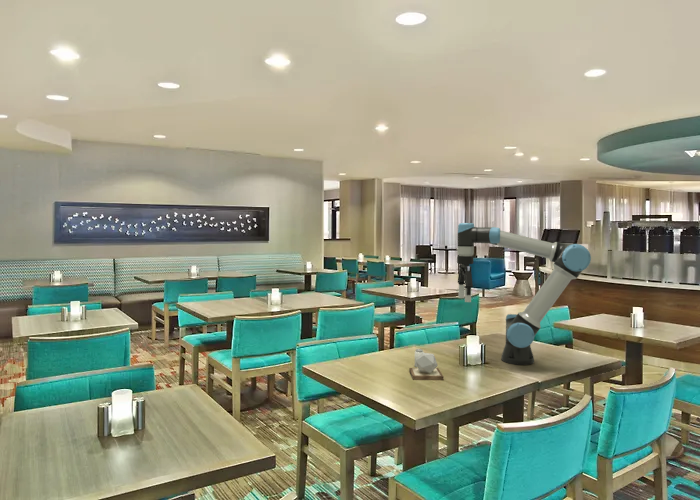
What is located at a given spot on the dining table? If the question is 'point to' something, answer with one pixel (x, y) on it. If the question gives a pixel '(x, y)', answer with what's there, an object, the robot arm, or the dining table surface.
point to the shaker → (417, 354)
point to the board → (426, 374)
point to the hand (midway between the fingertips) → (464, 300)
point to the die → (426, 363)
